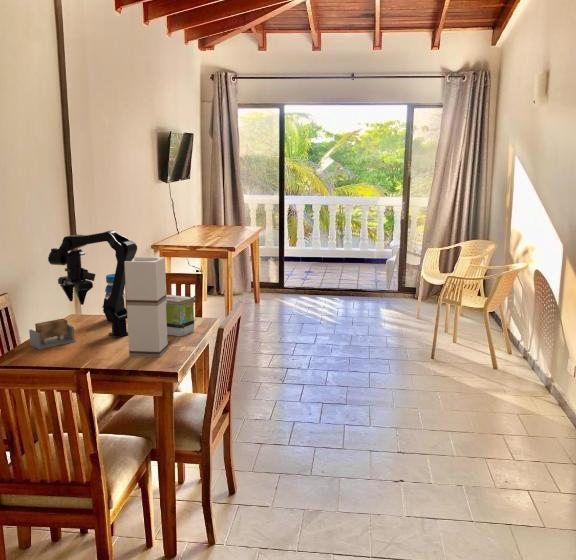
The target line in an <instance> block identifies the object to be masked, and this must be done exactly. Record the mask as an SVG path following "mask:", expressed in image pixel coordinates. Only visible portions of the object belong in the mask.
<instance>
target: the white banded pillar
mask: <svg viewBox="0 0 576 560" xmlns="http://www.w3.org/2000/svg"><path fill="white" fill-rule="evenodd" d="M133 260H134V261H133ZM133 260H132V261H125V262H124V264H125V282H126V283H125V295H126V297H125V298H126V299H125V300H126V309H127V319H126V320H127V332H128V335H127V338H128V352H129V357H136V356H137V357H138V358H140V357H142V358H161V357H162V356H163V355H164V354H165V353H166V352H167V351H168V350H169V348H170V347H169V346H170V345H169V343H168V334H167V319H166V303H167V296H166V295H167V280H166V279H167V277H166V276H167V273H166V257H160V256H159V257H158V256H157V257H156V256H151V257H150V256H134V258H133ZM137 357H136V358H137Z"/></svg>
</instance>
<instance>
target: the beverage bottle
mask: <svg viewBox="0 0 576 560" xmlns="http://www.w3.org/2000/svg"><path fill="white" fill-rule="evenodd" d="M114 276H115V273H111V274H110V273H109V274H106V277H105V280H106V284H107V285H106V287H105V288H104V289H105V290H104V293H105V295H104V298H107V297H109V296H110V295H111V290H112V286H113V281H114ZM125 295H126V293H125V292H124V293H123V299H124V300H125V298H126V297H125ZM124 307H125V308H126V304H124ZM117 316H118V315H117Z"/></svg>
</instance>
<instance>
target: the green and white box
mask: <svg viewBox="0 0 576 560" xmlns="http://www.w3.org/2000/svg"><path fill="white" fill-rule="evenodd" d="M166 296H167V303H166V319H167V336H176V337H184V336H186V335H189V334H191V333H193V332H195V311H194V297H193V296H185V295H184V296H183V295H173V294H166Z"/></svg>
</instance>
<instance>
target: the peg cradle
mask: <svg viewBox="0 0 576 560" xmlns="http://www.w3.org/2000/svg"><path fill="white" fill-rule="evenodd" d="M67 325H68V334H65V335H60V336H55V337H51V338H46V339H40V333H38V332H36V330H33V329H28V332H29V333H28V334H29V345H30V346H32V347H34V348H36V349H38V350H43V349H48V348H52V347H57V346H61V345H66V344H72V343H76V339H75V329H74V326H72V325H71V324H68V323H67Z"/></svg>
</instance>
